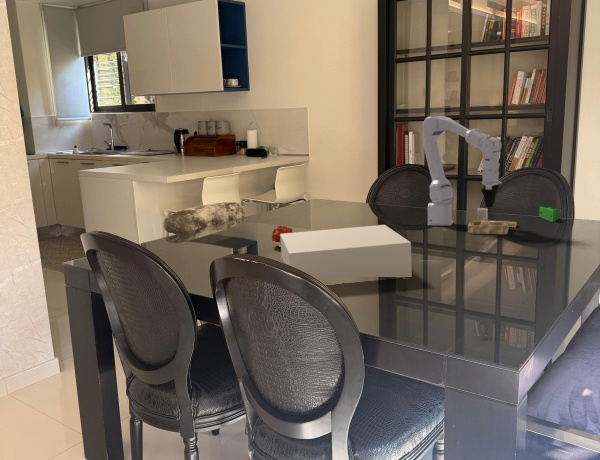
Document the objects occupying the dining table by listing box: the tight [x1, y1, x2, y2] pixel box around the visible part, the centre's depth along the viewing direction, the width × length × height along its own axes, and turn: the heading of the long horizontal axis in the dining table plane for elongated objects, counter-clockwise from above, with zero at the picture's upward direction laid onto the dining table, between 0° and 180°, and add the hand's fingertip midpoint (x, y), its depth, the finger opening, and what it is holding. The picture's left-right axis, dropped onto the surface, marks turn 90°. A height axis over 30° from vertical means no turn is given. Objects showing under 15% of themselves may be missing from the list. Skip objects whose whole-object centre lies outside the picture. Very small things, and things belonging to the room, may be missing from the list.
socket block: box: [467, 220, 510, 235], centre depth 216 cm, size 14×10×3 cm
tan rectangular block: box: [509, 221, 517, 229], centre depth 221 cm, size 6×4×2 cm, turn 66°
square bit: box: [476, 207, 488, 221], centre depth 225 cm, size 4×4×7 cm
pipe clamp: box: [538, 206, 559, 223], centre depth 230 cm, size 11×4×5 cm, turn 3°
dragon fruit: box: [271, 225, 294, 243], centre depth 211 cm, size 8×8×12 cm
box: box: [280, 224, 413, 279], centre depth 174 cm, size 28×35×11 cm
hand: (490, 205), depth 217 cm, fingers open, 7 cm apart
